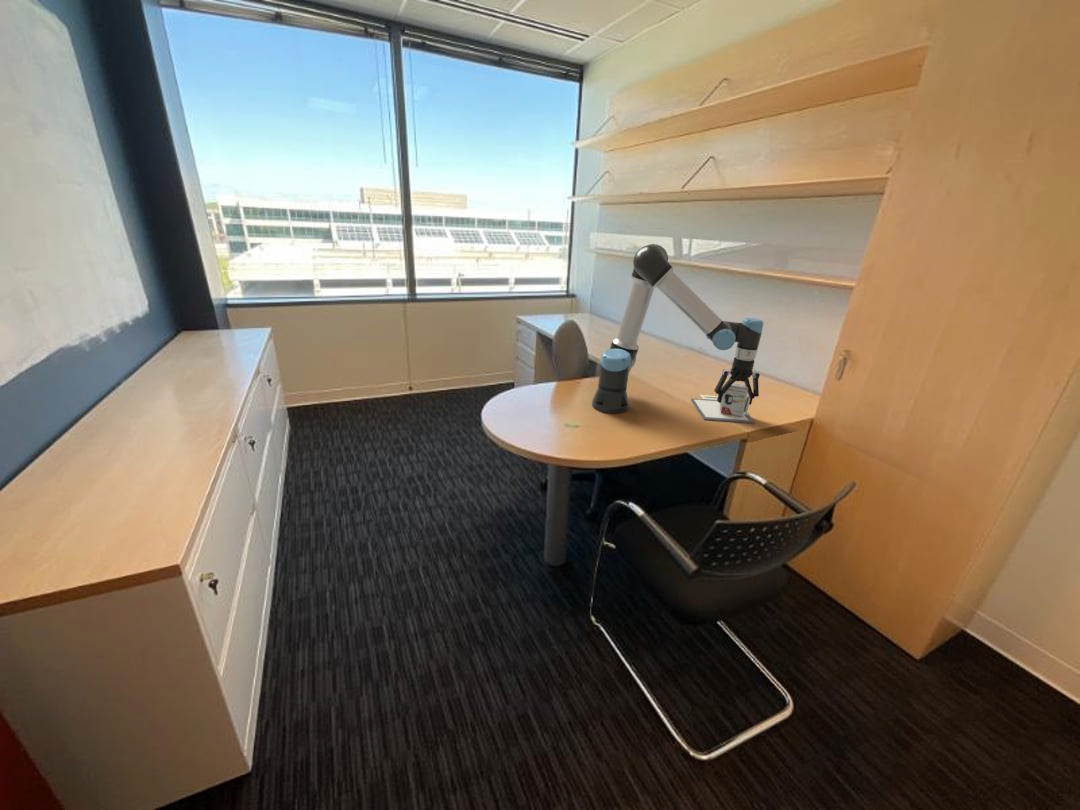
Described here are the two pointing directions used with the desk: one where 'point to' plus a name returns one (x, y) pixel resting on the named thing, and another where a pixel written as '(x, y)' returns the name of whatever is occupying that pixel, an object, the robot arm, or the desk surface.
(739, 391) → the ink box
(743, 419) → the whiteboard
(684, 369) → the desk surface
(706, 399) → the word card
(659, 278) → the robot arm
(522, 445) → the desk surface
